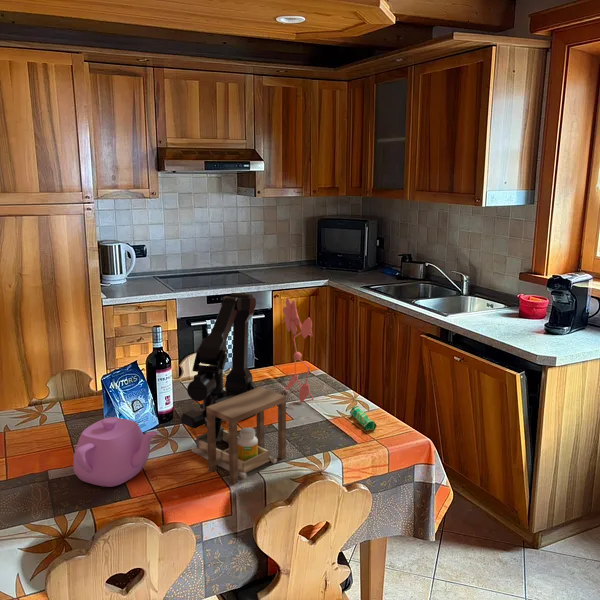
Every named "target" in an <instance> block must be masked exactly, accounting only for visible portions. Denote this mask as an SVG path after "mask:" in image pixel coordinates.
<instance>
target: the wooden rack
mask: <svg viewBox="0 0 600 600" xmlns="http://www.w3.org/2000/svg"><path fill="white" fill-rule="evenodd" d="M239 437H240V436H238V435H237V453H238V438H239ZM221 439H222V441H223V442H226V443H228V444H229V431H227V430H226V429H225V427H224V426H221V428H220V430H219V433H218V436H217V439H216V442H217V441H220V440H221ZM195 440H196V441H195V442H196V448H198V449H200V450H202V451H204V452H205V453H207V454H208V441H207V432H205V433H203V434H199V435H197V436H196V439H195ZM269 455H270V450H269V449H266V448H265V447H264V448H262V447H260V446H258V455H257V456H255V457H253V458H251V459H249V460H247V461H245V462H244V461H242V460H240V459H238V470H240V471H242V472H244V473H247V472H249V471H251V470H253V469H255V468H257V467H259V466H261V465H263V464H265V463H267V462H268V463H269V462H270V461H269ZM216 458H217V459H219V460H221V461H223V462H225V463H227V464H229V447H228V448H226V449H224V450H222V449H220V448H217V447H216Z"/></svg>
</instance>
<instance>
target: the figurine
mask: <svg viewBox="0 0 600 600" xmlns="http://www.w3.org/2000/svg"><path fill="white" fill-rule="evenodd" d="M282 313H283V315H284V316H285V318H284V319H283V321H281V324H283V323H284V322H285V324H286V325H285V326H286V330H287V332H289V333H290V332H291V333H292V334H293V335H294V336H293V338H292V340H293V344H294V349H295V352H294V354H293V358H294V376H292V377H291V379H290V380H289V381H288V383H287V385H286V388H285V390H286V391H287V390H289V389H291V388H292V387H293V386H294V384H296V383H297V384H298V385H299V386H300V388H299V391H298V397H299V401H300V403H301V404H302V403H303V402H304V401H305V400H306V399H307V398H308V396H310V398H311V399H313V400H315V399H314V397H313V395H312V393H311V391H310V385H309V383H308V377H309V373H310V366H309V365H308V364H306V363H305V362H304V361H303V359H302V357H303V356H302V355H303V354H302V353H301V352H299V351H297V345H296V344H297V343H296V338H297V337H299V336H302V337H303V339H304V340H305V339H307V337H308V336H310V337H311V338H313V331H312V328H313V321H312V319H311V318H310V317H307V319H305V320H304V321H303V323H302V322H301V319H300V317H299V314H298V309H297V305H296V300H295V299H292V301H291V300H290V298H289V297H287V298H286V299H285V306H284V307H282ZM297 326H299V329H300V332H299V333H297V332H298V328H297ZM296 361H300V362H301V363H302V364H303V365H305V366H306V367H307V373H306V379H305V383H304V384H301V382H300V379H299V378H298V377H299V374H297V372H296V371H297V363H296ZM286 409H288V407H287V406H286ZM290 409H291V410H294V408H291V407H290Z"/></svg>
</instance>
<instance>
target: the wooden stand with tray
mask: <svg viewBox="0 0 600 600" xmlns="http://www.w3.org/2000/svg"><path fill="white" fill-rule="evenodd" d="M276 406H277V433H278V434H277V458H276V457H275V456H272V455H270V454H269V462H270V461H271V463H269V462H267V463H265V464H263V465H261V466H259V467H257V468H255V469H253V470H251V471H249V472H247V473H244V472H242V471H240V470H238V453H237V436H238V422H240V421H244V420H246V419H249V418H251V417H253V415H254V416H255V414H256V438H257V439H258V446H260V447H262V448H264V449H265V411H267V410H269V409H271V408H274V407H276ZM286 407H287V396H285V394H284V395H283V394H280V393H277V392H275V391H273V390H270V389H268V388H264V387H262V386H258V387H256V388H255V389H253V390H250V391H247V392H245V393H242V394H239V395H237V396H234V397H231V398H229V399H226V400H223V401H221V402H218V403H215V404H213V405H210V406H207V407H206V410H207V428H206V431H207V432H206V433H207V441H208V454H207V453H205V452H204V451H202V450H200V449H199V448H198V447H197V446H195V447H192V448H191V452H192V453H194V454H196V455H198V456H200V457H202V458H204V459H205V460H207V463H208V465H207V467H208V472H210V473H214V472H216V471H217V466H218V467H221V468H222V469H225V470H226V471H227V472H229V483H231V484H232V485H235V484H237V483H238V482H239V477H240V478H241V479H243V480H244V479H247V478H248V476H249V477H250V476H253V475H254V474H256V473H258V472H260V470H261V471H262V470H265V469H266V468H268V467H270V466H272V464H277V462H278V459H280V460H284V459H285V457H286V458H287V421H286V420H287V416H286V415H287V411H286V410H287V408H286ZM215 416H216V417H218V418H220V419H222V420H225V421H224V422H227V424H228V428H227V429H228V432H229V443H228V448H229V464H227V463H225V462H223V461H221V460H219V459H217V458H216V448H217V444H216V443H217V441H216V434H215ZM250 416H251V417H250ZM248 417H249V418H248ZM245 418H246V419H245ZM243 419H244V420H243Z"/></svg>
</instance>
